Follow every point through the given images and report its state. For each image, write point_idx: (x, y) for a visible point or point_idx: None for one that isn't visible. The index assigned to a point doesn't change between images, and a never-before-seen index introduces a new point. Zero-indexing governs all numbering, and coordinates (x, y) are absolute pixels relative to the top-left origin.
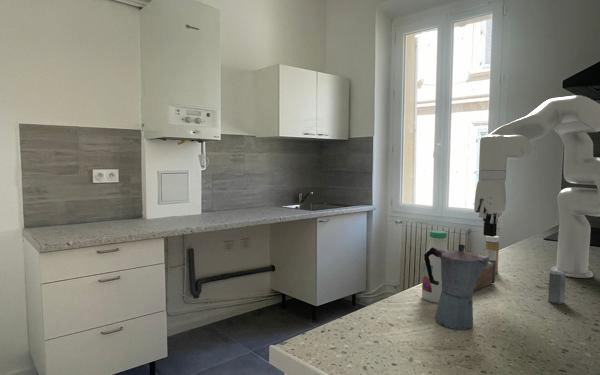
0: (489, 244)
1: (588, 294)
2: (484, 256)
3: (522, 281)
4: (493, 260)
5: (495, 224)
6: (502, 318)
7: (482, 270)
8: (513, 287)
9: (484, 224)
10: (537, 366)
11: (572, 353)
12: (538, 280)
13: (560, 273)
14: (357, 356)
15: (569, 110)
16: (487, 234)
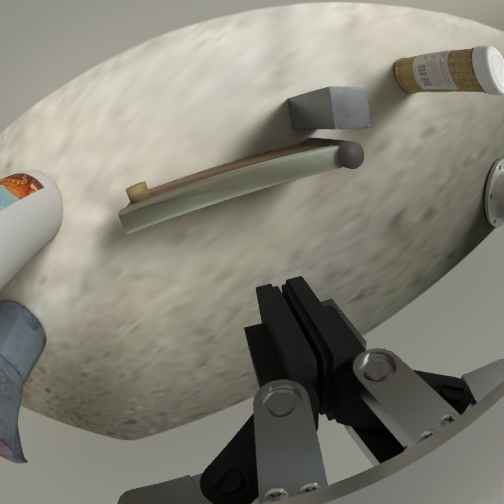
0: (464, 66)
1: (416, 290)
2: (360, 111)
3: (405, 173)
4: (354, 159)
5: (326, 411)
6: (116, 345)
7: (19, 443)
8: (340, 198)
9: (284, 356)
10: (74, 424)
11: (135, 426)
12: (436, 188)
13: None
14: None
15: None
16: (262, 320)
